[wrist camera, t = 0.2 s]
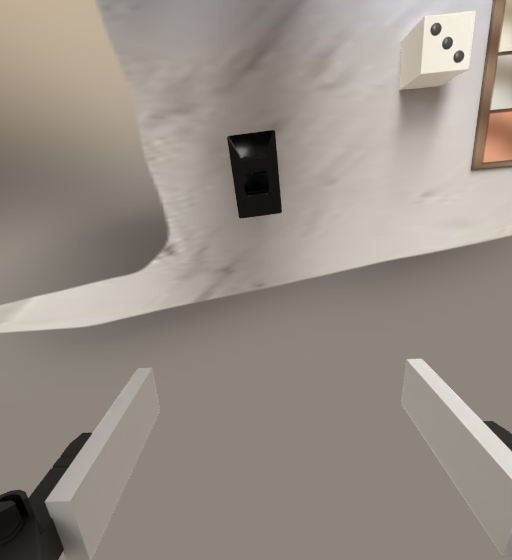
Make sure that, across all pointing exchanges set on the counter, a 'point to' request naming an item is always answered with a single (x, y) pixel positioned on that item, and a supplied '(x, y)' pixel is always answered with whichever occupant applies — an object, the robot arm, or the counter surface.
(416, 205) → the counter surface
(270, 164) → the black piece
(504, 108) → the game board
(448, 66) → the die
